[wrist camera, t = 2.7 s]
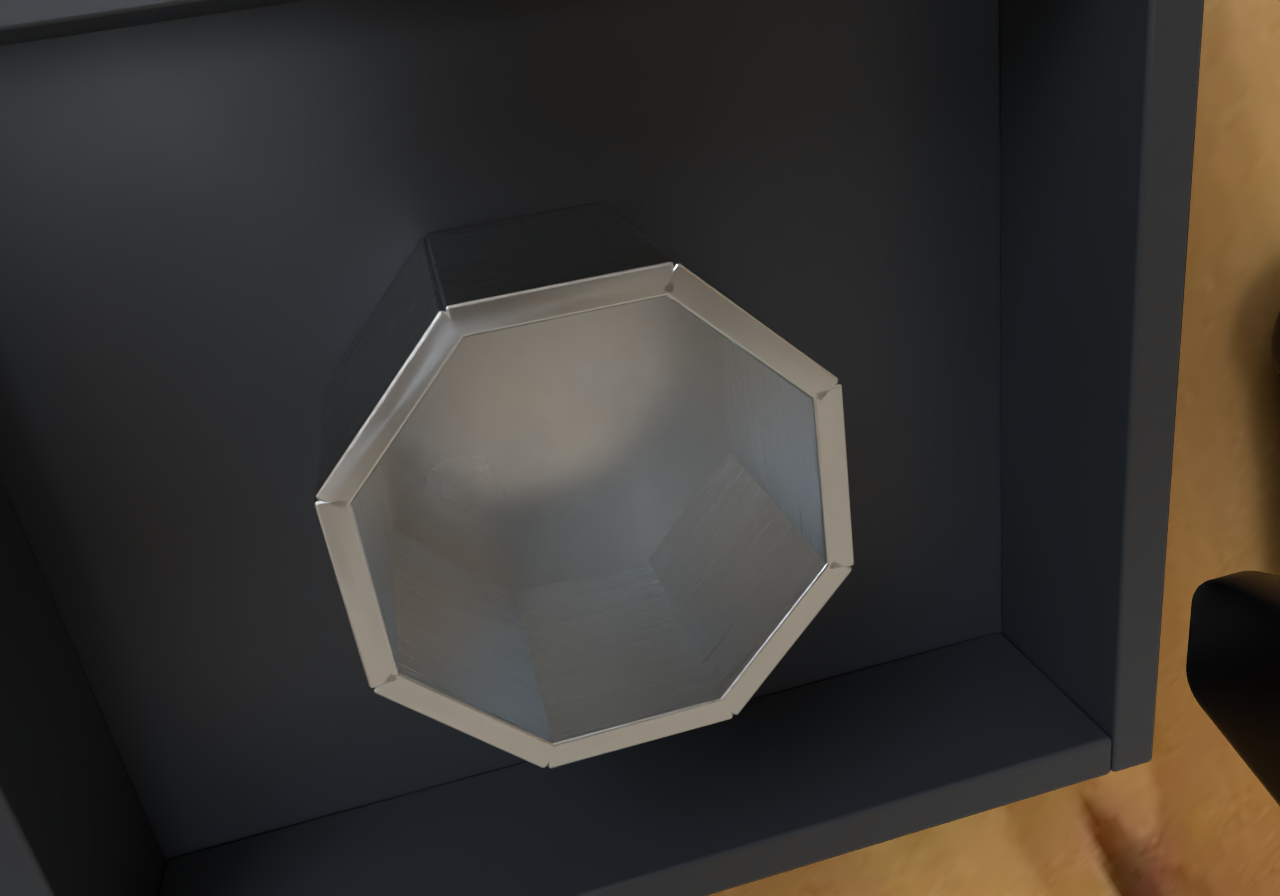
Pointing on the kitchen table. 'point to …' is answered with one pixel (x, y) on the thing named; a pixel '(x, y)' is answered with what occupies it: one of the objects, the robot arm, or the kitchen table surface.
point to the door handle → (1276, 344)
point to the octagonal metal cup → (576, 489)
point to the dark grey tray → (703, 241)
